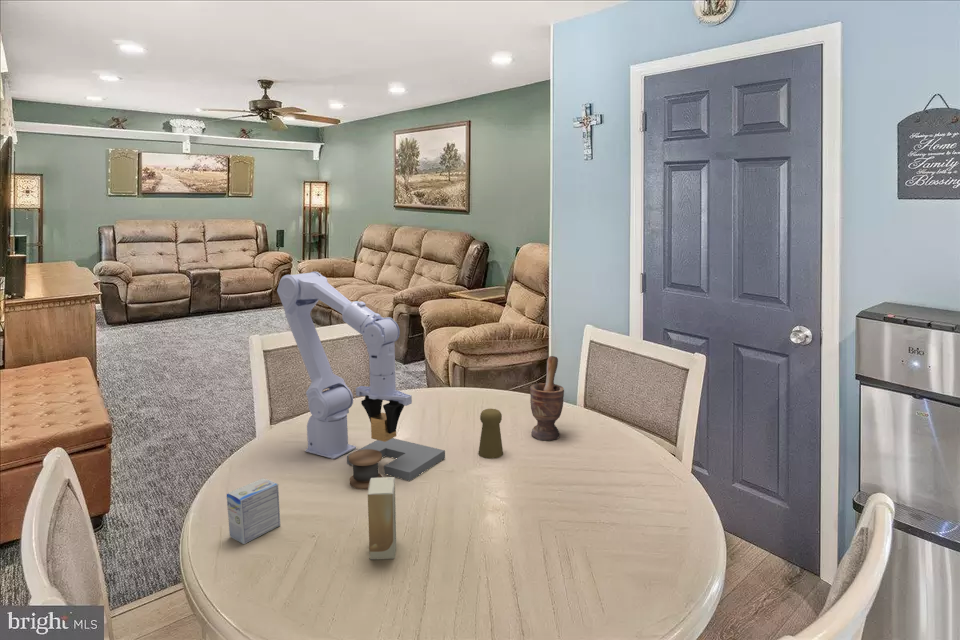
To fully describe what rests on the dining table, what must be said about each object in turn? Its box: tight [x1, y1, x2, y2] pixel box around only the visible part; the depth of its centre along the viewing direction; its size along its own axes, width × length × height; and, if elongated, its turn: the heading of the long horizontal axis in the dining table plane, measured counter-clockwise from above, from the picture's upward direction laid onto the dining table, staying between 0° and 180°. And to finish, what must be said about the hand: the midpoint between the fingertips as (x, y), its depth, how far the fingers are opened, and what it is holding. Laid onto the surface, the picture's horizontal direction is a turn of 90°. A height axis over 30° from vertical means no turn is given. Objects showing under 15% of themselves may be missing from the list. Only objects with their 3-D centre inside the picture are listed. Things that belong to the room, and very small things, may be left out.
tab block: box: [370, 412, 397, 442], centre depth 137 cm, size 4×4×5 cm
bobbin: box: [348, 449, 383, 490], centre depth 130 cm, size 7×7×6 cm
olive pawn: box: [477, 408, 504, 460], centre depth 144 cm, size 6×6×11 cm
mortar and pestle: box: [529, 355, 565, 441], centre depth 157 cm, size 12×9×20 cm
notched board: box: [346, 437, 446, 482], centre depth 141 cm, size 18×14×2 cm
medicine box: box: [226, 477, 281, 545], centre depth 109 cm, size 8×4×9 cm, turn 145°
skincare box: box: [367, 476, 397, 560], centre depth 103 cm, size 6×4×12 cm
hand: (384, 430), depth 137 cm, fingers closed on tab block, 4 cm apart
